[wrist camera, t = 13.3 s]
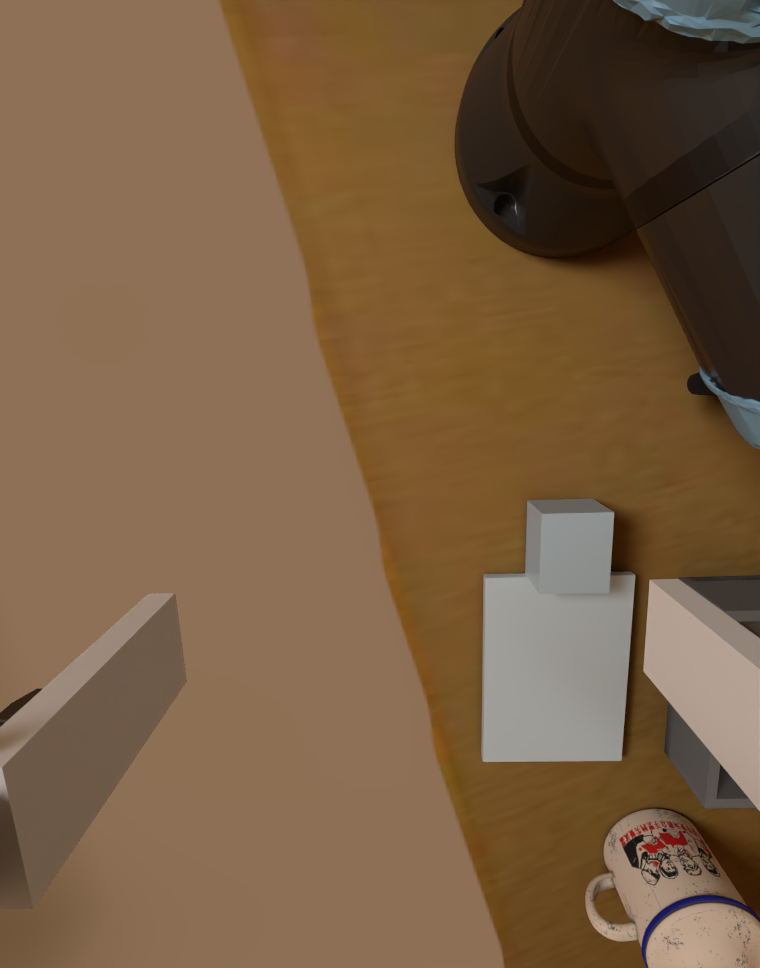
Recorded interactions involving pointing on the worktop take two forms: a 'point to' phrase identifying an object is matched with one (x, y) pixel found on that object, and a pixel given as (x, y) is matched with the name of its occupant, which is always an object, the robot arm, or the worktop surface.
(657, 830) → the teacup with lid
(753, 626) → the tub
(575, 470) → the worktop surface
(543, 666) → the lid
